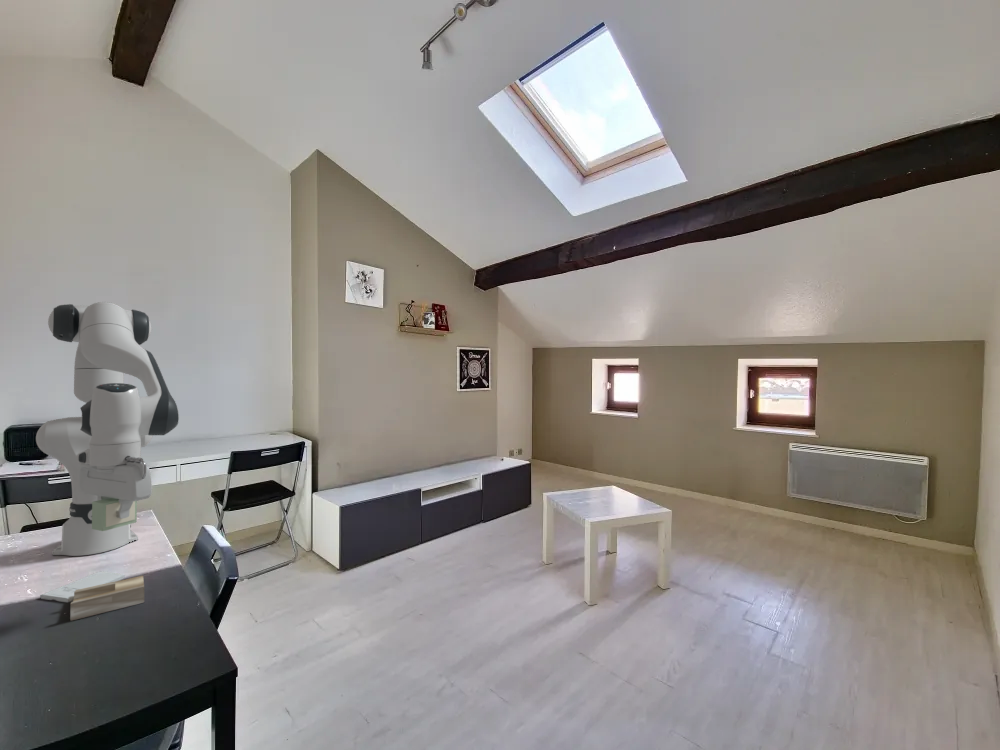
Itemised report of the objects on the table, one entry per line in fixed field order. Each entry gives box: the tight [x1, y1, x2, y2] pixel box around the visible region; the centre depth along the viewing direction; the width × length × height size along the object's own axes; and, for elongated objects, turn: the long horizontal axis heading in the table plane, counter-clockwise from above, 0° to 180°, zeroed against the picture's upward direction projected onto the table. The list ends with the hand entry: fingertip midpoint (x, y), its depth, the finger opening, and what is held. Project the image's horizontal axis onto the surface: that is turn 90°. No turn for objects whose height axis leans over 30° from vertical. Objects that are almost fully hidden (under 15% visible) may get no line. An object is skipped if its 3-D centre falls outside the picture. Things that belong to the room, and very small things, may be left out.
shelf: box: [69, 575, 145, 622], centre depth 100 cm, size 12×12×4 cm
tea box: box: [92, 498, 138, 531], centre depth 100 cm, size 4×6×6 cm, turn 160°
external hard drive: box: [39, 570, 126, 603], centre depth 106 cm, size 2×8×12 cm
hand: (115, 516), depth 100 cm, fingers closed on tea box, 4 cm apart
